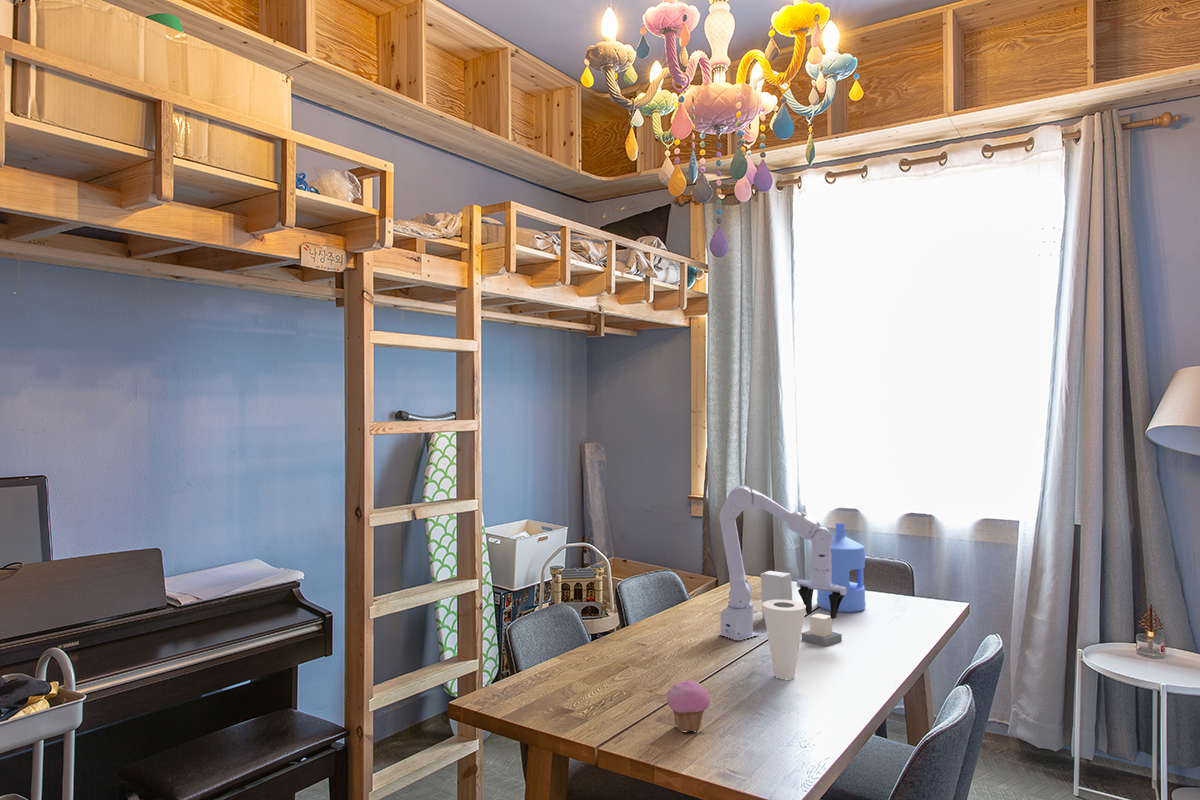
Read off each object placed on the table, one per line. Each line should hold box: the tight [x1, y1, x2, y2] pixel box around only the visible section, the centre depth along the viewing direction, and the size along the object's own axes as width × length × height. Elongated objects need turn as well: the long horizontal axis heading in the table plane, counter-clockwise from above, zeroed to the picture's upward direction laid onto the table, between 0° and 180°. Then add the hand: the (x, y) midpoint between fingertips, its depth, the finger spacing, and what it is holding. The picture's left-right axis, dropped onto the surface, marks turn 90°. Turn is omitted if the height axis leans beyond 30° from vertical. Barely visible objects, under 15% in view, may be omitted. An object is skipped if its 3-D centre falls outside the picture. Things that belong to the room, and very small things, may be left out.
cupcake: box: [666, 679, 710, 732], centre depth 157 cm, size 9×9×10 cm
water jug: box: [816, 523, 866, 613], centre depth 255 cm, size 16×16×28 cm
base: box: [801, 630, 843, 647], centre depth 218 cm, size 8×8×2 cm
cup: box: [761, 599, 806, 680], centre depth 188 cm, size 11×11×18 cm
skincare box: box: [760, 570, 793, 620], centre depth 240 cm, size 8×6×15 cm
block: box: [809, 613, 833, 637], centre depth 218 cm, size 4×4×5 cm
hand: (821, 615), depth 218 cm, fingers open, 7 cm apart
